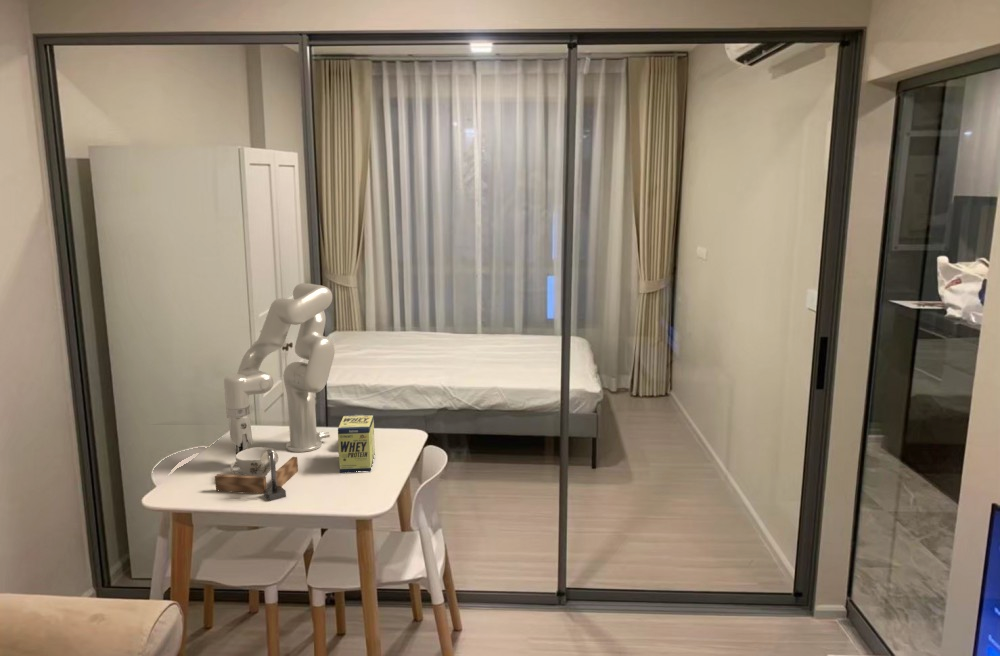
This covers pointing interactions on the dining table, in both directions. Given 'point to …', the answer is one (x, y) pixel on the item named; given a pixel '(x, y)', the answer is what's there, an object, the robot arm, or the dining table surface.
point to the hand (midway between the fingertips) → (242, 462)
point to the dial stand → (272, 476)
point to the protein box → (356, 443)
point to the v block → (255, 479)
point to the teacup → (251, 462)
